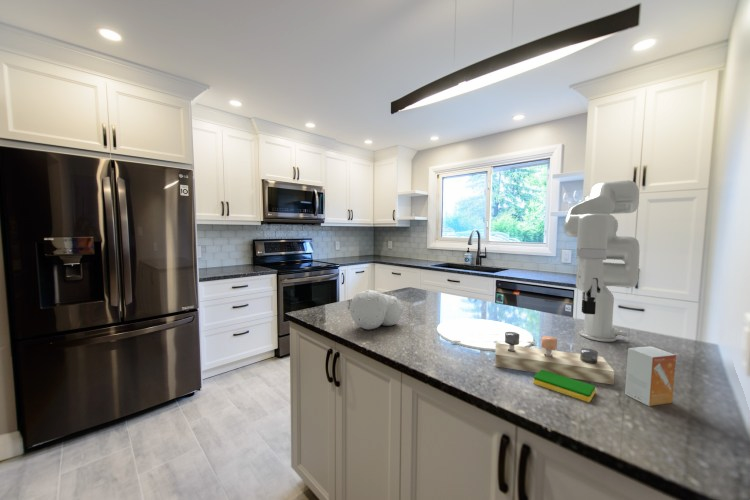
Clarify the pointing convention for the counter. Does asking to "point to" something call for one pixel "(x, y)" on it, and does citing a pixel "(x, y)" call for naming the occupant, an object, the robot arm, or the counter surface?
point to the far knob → (511, 340)
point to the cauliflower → (375, 309)
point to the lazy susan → (481, 333)
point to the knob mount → (553, 363)
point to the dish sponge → (565, 385)
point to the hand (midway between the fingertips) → (588, 313)
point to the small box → (650, 375)
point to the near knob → (588, 355)
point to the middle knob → (549, 344)
